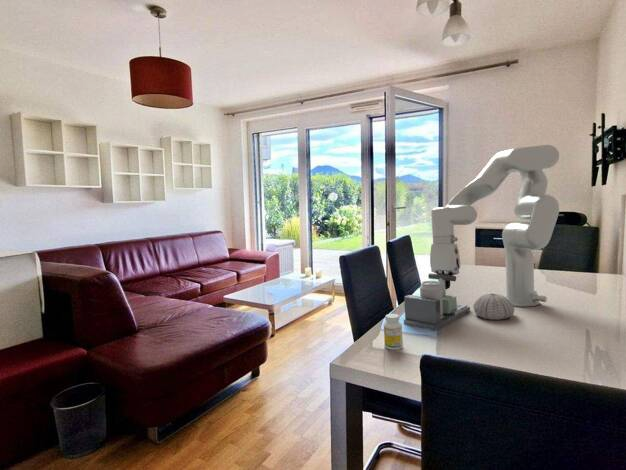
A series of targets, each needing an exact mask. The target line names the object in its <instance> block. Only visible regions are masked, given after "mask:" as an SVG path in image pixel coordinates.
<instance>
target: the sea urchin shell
mask: <svg viewBox="0 0 626 470" xmlns="http://www.w3.org/2000/svg"><path fill="white" fill-rule="evenodd" d="M472 308H473V311H474V313H475V314H476V315H477V316H478V317H480V318H483V319H485V320H493V321H495V320H505V319H508V318H510V317H512V316H513V315H514V313H515V311H516V310H515V306H513V304H512V303H511V302H510V301H509V300H508V299H507V298H506V296H504V295H502V294H497V293H487V294H486V293H485V294H483V295H481V296H480V297H478V298H477V299H476V300H475V302H474V304H473V307H472Z"/></svg>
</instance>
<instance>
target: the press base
mask: <svg viewBox="0 0 626 470" xmlns="http://www.w3.org/2000/svg"><path fill="white" fill-rule="evenodd" d="M403 299H404V300H403V302H404V303H403V304H404V316H405V318H404V319H403V325H409V326H413V327H414V326H415V327H416V328H417V327H418V328H423V329H426V330H431V331H437V330H439V329H440V328H442V327H444V326H446V325H447V324H449V323H451V322H452V321H455V320H456V319H458V318H460V317H461V316H464V315H465V314H467V313H469V312H470V311H471V307H470V306H468V304H463V305H460V304H457V309H456V310H454V311H452V313H450V314H446V313H443V314H442V315H441V313H440V300H439V299H432V298H426V297H420V295H412V294H408V295H405V296H403Z"/></svg>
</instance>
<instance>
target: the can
mask: <svg viewBox="0 0 626 470" xmlns="http://www.w3.org/2000/svg"><path fill="white" fill-rule="evenodd" d="M419 286H420V287H419V296H420V297H426V298H432V299H439V300H440V313H441V315H442V314H443V301H442V286H441V285H440V283H439V281H437V280H425V281H422V282H421V285H419Z"/></svg>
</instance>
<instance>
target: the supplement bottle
mask: <svg viewBox="0 0 626 470" xmlns="http://www.w3.org/2000/svg"><path fill="white" fill-rule="evenodd" d="M383 337H384V347H385V348H386V349H388V350H390V351H391V350H392V351H396V350H397V351H398V350H401V349H402V348H403V346H404V342H403V341H404V340H403V324H402V322H401V321H400V315H399V314H396V313H388V314H386V315H385V322H384V324H383Z"/></svg>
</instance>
